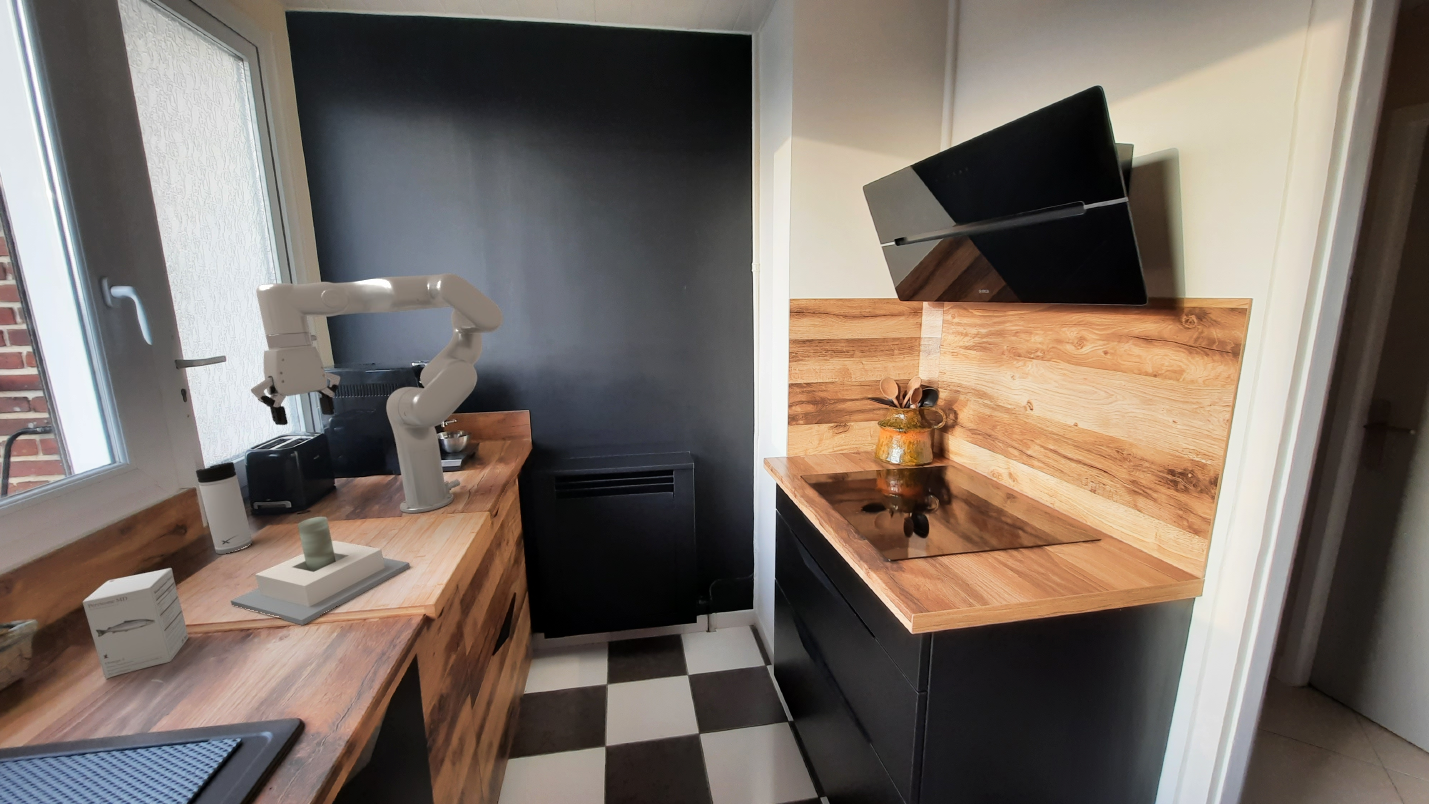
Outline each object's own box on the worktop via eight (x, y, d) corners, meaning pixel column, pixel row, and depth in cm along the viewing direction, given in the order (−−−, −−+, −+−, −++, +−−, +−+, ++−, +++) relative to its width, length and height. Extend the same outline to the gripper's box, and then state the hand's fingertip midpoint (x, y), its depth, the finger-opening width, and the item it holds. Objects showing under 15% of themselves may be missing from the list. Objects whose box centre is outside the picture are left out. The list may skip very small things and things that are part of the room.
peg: (329, 572, 103) (317, 515, 101) (344, 576, 101) (332, 517, 99) (305, 584, 99) (292, 525, 97) (320, 588, 97) (307, 527, 95)
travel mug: (232, 555, 115) (210, 468, 111) (208, 553, 117) (186, 468, 113) (261, 542, 121) (241, 459, 117) (238, 541, 123) (218, 459, 119)
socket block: (343, 554, 113) (339, 532, 112) (410, 567, 106) (405, 544, 105) (231, 605, 95) (225, 580, 94) (302, 625, 87) (296, 598, 86)
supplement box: (103, 681, 76) (78, 602, 74) (129, 652, 83) (107, 578, 80) (171, 663, 79) (149, 586, 77) (191, 636, 86) (172, 565, 83)
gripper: (320, 339, 122) (334, 410, 126) (231, 346, 107) (250, 428, 110) (342, 338, 120) (355, 411, 123) (253, 345, 104) (272, 429, 107)
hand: (305, 419), depth 116 cm, fingers open, 9 cm apart
